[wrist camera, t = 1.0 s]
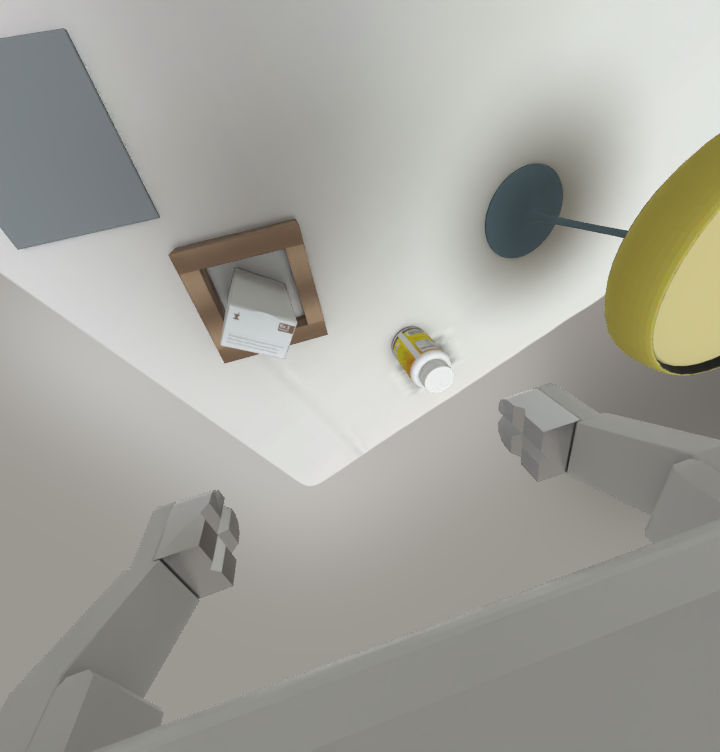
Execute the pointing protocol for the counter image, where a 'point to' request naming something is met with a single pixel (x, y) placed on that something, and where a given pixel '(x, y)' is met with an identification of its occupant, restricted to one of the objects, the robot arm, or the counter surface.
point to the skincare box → (258, 315)
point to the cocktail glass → (639, 259)
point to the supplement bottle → (423, 360)
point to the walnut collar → (241, 246)
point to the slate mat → (59, 147)
